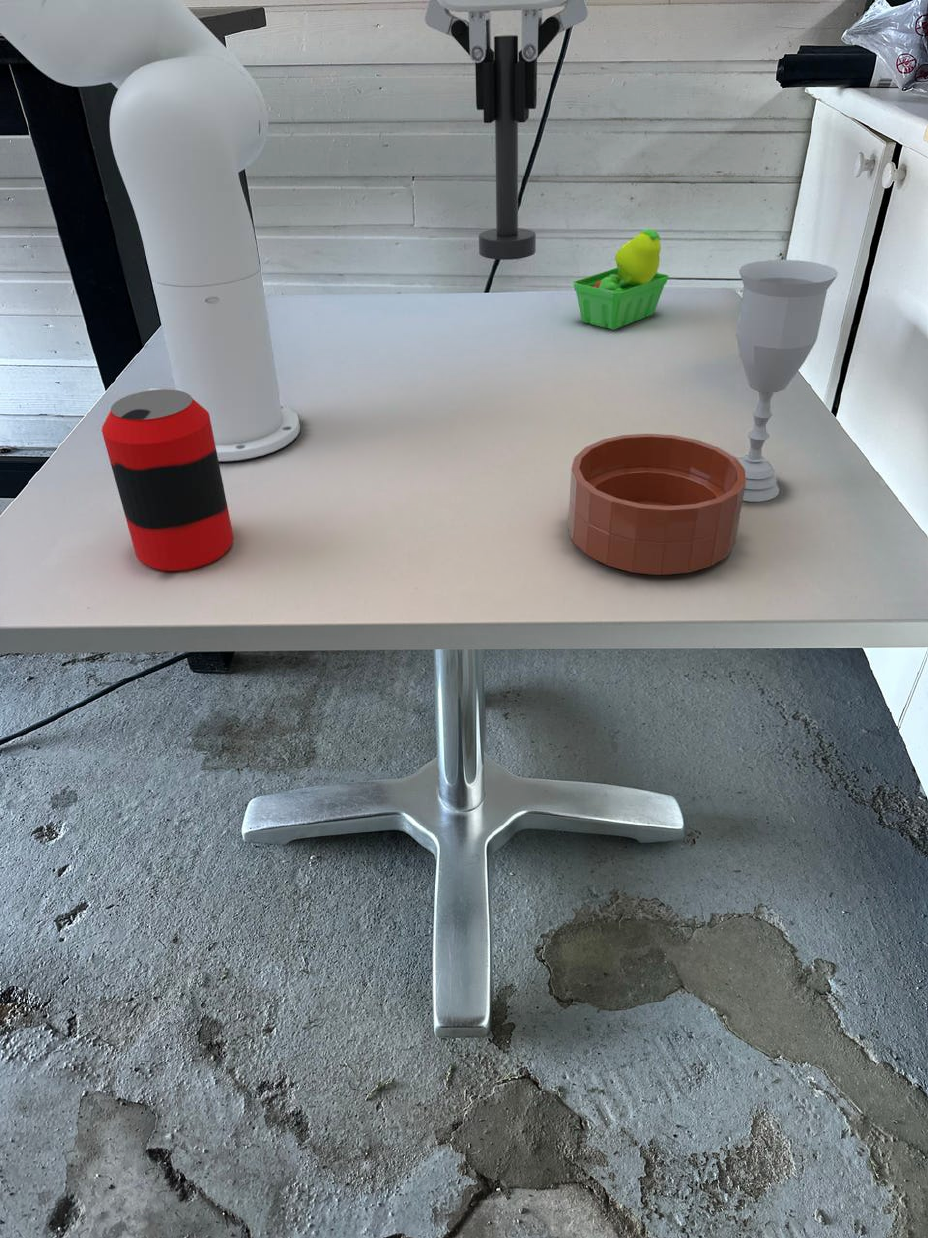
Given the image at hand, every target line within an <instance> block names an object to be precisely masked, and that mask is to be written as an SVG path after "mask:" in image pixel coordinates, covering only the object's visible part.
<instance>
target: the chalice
mask: <svg viewBox="0 0 928 1238" xmlns="http://www.w3.org/2000/svg"><path fill="white" fill-rule="evenodd" d="M738 272H739V275H740V279H741V281H742V284H743V287H742V288H743V289H742V294H741V301H740V308H739V314H738V321H737V326H736V334H735V337H736V342H737V346H738V353H739V358H740V361H741V365H742V368H743V370H744V373H745V376H746V379H747V382H748V386H749V387H750V388H751V389H752V390H754V391H756V392H758V402H757V405H756V407H755V409H754V410H753V411H752V412H751V415H752V416H753V420H754V424H753V425H754V426H753V427H752V430H751V431H750V432H748V433H747V435H746V436H747V437H748V438H749V441H750V443H749V444H750V448H749V451H748V453H747V454H745V456H742V457H738V458H736V459H737V460H738V461H739V462H740V464H741V465H742V466H743V467H744V469H745V475H746V485H745V490H744V496H743V501H744V502H750V503H751V502H752V503H753V502H755V503H756V502H758V503H760V502H766V501H770V500H772V499H775V498H777V496H778V495H779V494H780V488H779V486H778V484H777V481H778V480H777V477H776V474H775V472H776V470H775V468H774V467H773V465H772V464H771V462H770V461H768V460H766V459H765V457H764V456H763V452H762V450H763V449H762V448H763V446H764V443H765V441H767V440H768V439H769V438H770V434H769V433H768V431H767V425H768V422H769V420H770V419H771V417H773V413H772V411H771V400H772V398H773V396H774V394H775V393H778V392H782V391H784V390H785V389H786V388H787V387H788V385H790V383H791V381H792V380H793V379H794V377H795V376H796V375H797V373H798V372H799V370H800V369H801V368H802V366H803V365H804V364H805V362H806V360H807V359H808V356H809V355H810V353H811V351H812V350H813V348H814V346H815V344H816V342H817V339H818V335H819V331H820V326H821V322H822V316H823V311H824V307H825V303H826V297H827V292H828V289H829V288H830V287H831V285H832V284H833V283H834V281H835V280H836V279H837V277H838V275H839V272H838V270H836V269H835V268H834V267H832V266H829V265H827V264H823V263H818V262H813V261H806V260H798V259H797V260H796V259H769V260H768V259H767V260H759V261H754V262H749V263H747V264H744V265H742V266H740V268H739V269H738Z"/></svg>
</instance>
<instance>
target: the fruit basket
mask: <svg viewBox="0 0 928 1238" xmlns="http://www.w3.org/2000/svg"><path fill="white" fill-rule="evenodd" d="M660 240H661V237H660V234H659V233H658V232H657V231H656V230H654V229H650V228H646V229H643V230H641V231H640V232H639V233H638V234H637V235H636V236H635V237H633V238H632V239H630V240H628V241H627V242H625V243H624V244H623V246H621V247H620V248H618V250H617V251H616V253H615V257H614V260H615V263H616V267H614V268H611V269H608V270H605V271H601V272H598V273H595V274H593V275H590V276H588V277H584V278H581V279H577V280H574V281H573V282H572V285H573V288H574V291H575V293H576V298H577V302H578V307H579V308H578V309H579V311H580V317H581V320H582V323H584V324H590V325H592V326H597V327H601V328H604V329H605V328H606V329H609V330H612V331H614V330H617V329H619V328H621V327H624V326H627V325H629V324H632V323H634V322H638V321H640V320H643V319H644V318H648V317H651V316H653V315H654V314H655V311H656V309H657V306H658V303H659V301H660V297H661V295H662V293H663V290H664V287H665V285H666V284H667V282H668V280H669V277H670V275H669V274H666V273H660V272H658V270H659V268H660V261H661V260H660V253H661V248H662V246H661V241H660Z"/></svg>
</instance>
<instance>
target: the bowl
mask: <svg viewBox="0 0 928 1238" xmlns="http://www.w3.org/2000/svg"><path fill="white" fill-rule="evenodd" d="M737 459H738V458H737V457H735V456H734V455H732V454H730V453H729V452H727V451H725V450H724V449H722V448H721V447H718V446H716V445H713V444H710V443H708V442H705V441H701V440H699V439H696V438H695V439H694V438H690V437H684V436H679V435H675V434H673V435H672V434H661V433H636V434H622V435H621V434H620V435H618V436H617V435H616V436H612V437H607V438H604V439H601V440H598V441H596V442H594V443H592V444H589V445H586V446H585V447H583V448H582V449H581V450H580V452H579V453H577V454H576V455H575V456H574V457H573V461H572V465H571V470H570V471H571V472H570V487H569V488H570V490H569V506H568V507H569V508H568V509H569V510H568V526H567V527H568V528H567V530H568V533H569V535H570V538H571V541H572V543H573V544H574V545H575V546H576V547H577V548H579V549H580V550H581V551H582V552H583V553H584V554H585V555H587V556H588V557H590V558H592V559H594V560H595V561H598V562H599V563H601V564H604V565H606V566H608V567H612V568H615V569H618V570H622V571H625V572H630V573H634V574H641V575H649V576H650V575H654V576H669V575H678V574H687V573H693V572H695V571H700V570H703V569H707V568H710V567H713V566H714V565H716V564H717V563H719V562H721V561H722V560H724V559H726V558H727V557H728V556H729V554H730V552H732V549H733V548H734V546H735V544H736V539H737V534H738V529H739V525H740V524H739V523H740V518H741V513H742V506H743V496H744V490H745V485H746V475H745V469H744V467H743V466H742V465H741V464H740V462H739V461H738V460H737Z"/></svg>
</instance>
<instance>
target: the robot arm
mask: <svg viewBox="0 0 928 1238" xmlns="http://www.w3.org/2000/svg"><path fill="white" fill-rule="evenodd" d="M427 5H428V6H427V8H426V13H425V15H424V22H425V23H426V25H427V26H428V27H430V28H432V29H434V30H436V31H438V32H440V33H443V34H445V35H448V36H450V37H452V38H454V40H455V41H456V42H457V43H458V44H459V45H460V46H461V48H463V50H464V51H465V52H466V53H467V54H468V55H469V57H470V60H471V61H472V62H474V65H475V66H474V67H475V68H474V70H475V104H476V105H475V106H476V111H483V123H484V124H492V123H493V122H495V63H494V49H492V20H491V19H492V17H491V16H492V13H491V12H502V11H503V12H505V11H506V12H508V11H509V12H511V11H521V49H520V50H519V51H518V62H517V63H516V64H515V121H518V124H519V123H526V122H527V121H528V119H529V117H530V110H536V108H537V102H538V101H537V100H538V99H537V98H538V95H537V94H538V92H537V91H538V58H539V57H540V56H541V55H542V54H543V52H544V51H545V50H546V49H547V47H548V46H549V45H550V44H551V43H552V42H553V40H554V39H556V37H557V35H559V34H560V33H562V32H565V31H566V30H568V29H570V28H572V27H574V26H576V25H578V24H580V23H581V22H584V21H585V20H586V19H587V18H588V16H589V9H588V5H587V3H586V0H429V2H428V4H427ZM564 5H565V6H564ZM561 6H564V7H563V9H562V10H560V11H559V12H556V13H555V14H553V15H551V16H549V17H547V18H546V19H545V20H544V21H543V12H544V11H543V10H547V9H552V8H556V7H561ZM450 11H451V12H456V13H468V20H466V19H463V18H461V17H458V16H456V15H455V14H452V13H451V12H450ZM0 34H1V35H2V36H3V37H4V38H5V39H6V40H7V41H8V42H9V43H10V44H11V45H12V46H13V47H14V48H15V49H16V50H18V52H19V53H21V55H23V56H24V57H25V58H26V60H28V61H29V63H31V64H32V65H33V66H34V67H35V68H36V69H37V70H39V71H40V72H41V73H43V75H45V76H47V77H48V78H50V79H51V80H53V81H55V82H56V83H59V84H62V85H65V86H71V87H76V88H79V87H82V88H83V87H94V86H100V85H104V84H110V83H111V84H112V85H113V86H114V87H115V88H116V89H117V91H116V93H115V95H114V97H113V101H112V104H111V108H110V114H109V138H110V142H111V147H112V151H113V152H112V153H113V155H114V158H115V162H116V165H117V168H118V171H119V174H120V176H121V178H122V182H123V184H124V186H125V189H126V192H127V195H128V197H129V200H130V203H131V205H132V209H133V211H134V215H135V218H136V221H137V224H138V229H139V232H140V236H141V241H142V245H143V249H144V253H145V257H146V262H147V265H148V270H149V275H150V279H151V281H152V286H153V292H154V295H155V299H156V306H157V309H158V314H159V318H160V322H161V328H162V332H163V337H164V341H165V346H166V351H167V355H168V359H169V360H168V361H169V364H170V369H171V373H172V378H173V383H174V387H175V390H178V391H183V392H185V393H188V394H189V395H191V397H192V398H193V399H194V400H195V401H196V402H197V403H198V404H200V405H201V406H202V407H203V408H204V409H205V410H207V412H208V413H209V416H210V421H211V426H212V431H213V436H214V441H215V446H216V451H217V456H218V461H219V462H234V461H243V460H249V459H254V458H259V457H262V456H265V455H268V454H271V453H274V452H277V451H278V450H280V449H283V448H285V447H286V446H287V445H289V444H290V443H292V442H293V441H294V439H296V438H297V437H298V435H299V433H300V430H301V425H300V420H299V416H298V414H297V413H296V412H295V411H294V410H293V409H291V408H289V407H288V406H285V405H283V404H282V403H281V397H280V396H281V395H280V389H279V384H278V376H277V370H276V369H277V368H276V363H275V357H274V349H273V343H272V338H271V336H272V335H271V329H270V322H269V315H268V310H267V302H266V296H265V288H264V282H263V276H262V268H261V265H260V258H259V251H258V244H257V240H256V235H255V229H254V225H253V221H252V218H251V217H252V216H251V213H250V211H249V207H248V203H247V200H246V198H245V195H244V191H243V187H242V184H241V181H240V174H239V173H240V172H242V171H244V170H245V169H247V168H248V167H250V165H252V164H253V163H254V162H255V161H256V160H257V159H258V157H259V156H260V154H261V153H262V151H263V149H264V147H265V145H266V142H267V140H268V139H267V138H268V133H269V114H268V108H267V105H266V101H265V99H264V96H263V93H262V91H261V90H260V87H259V85H258V84H257V82H256V81H255V79H254V78H253V76H252V75H251V74H250V72H249V71H248V70H247V69H246V68H245V66H243V64H242V63H241V62H240V60H238V58H237V57H236V56H234V54H233V53H232V52H231V51H230V50H229V49H228V48H227V47H226V46H225V44H224V43H222V41H220V40H219V39H218V38H217V37H216V36H215V34H213V32H212V31H210V29H208V28H207V26H205V24H204V23H203V22H202V21H201V20H200V19H199V18H198V17H197V16H196V15H195V14H194V13H193V12H192V11H191V10H190V9H189V8H188V6H186V5H185V3H183V2H182V1H181V0H0ZM161 389H162V388H158V387H157V388H156V387H150V388H148V389H147V391H150V390H161Z"/></svg>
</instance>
